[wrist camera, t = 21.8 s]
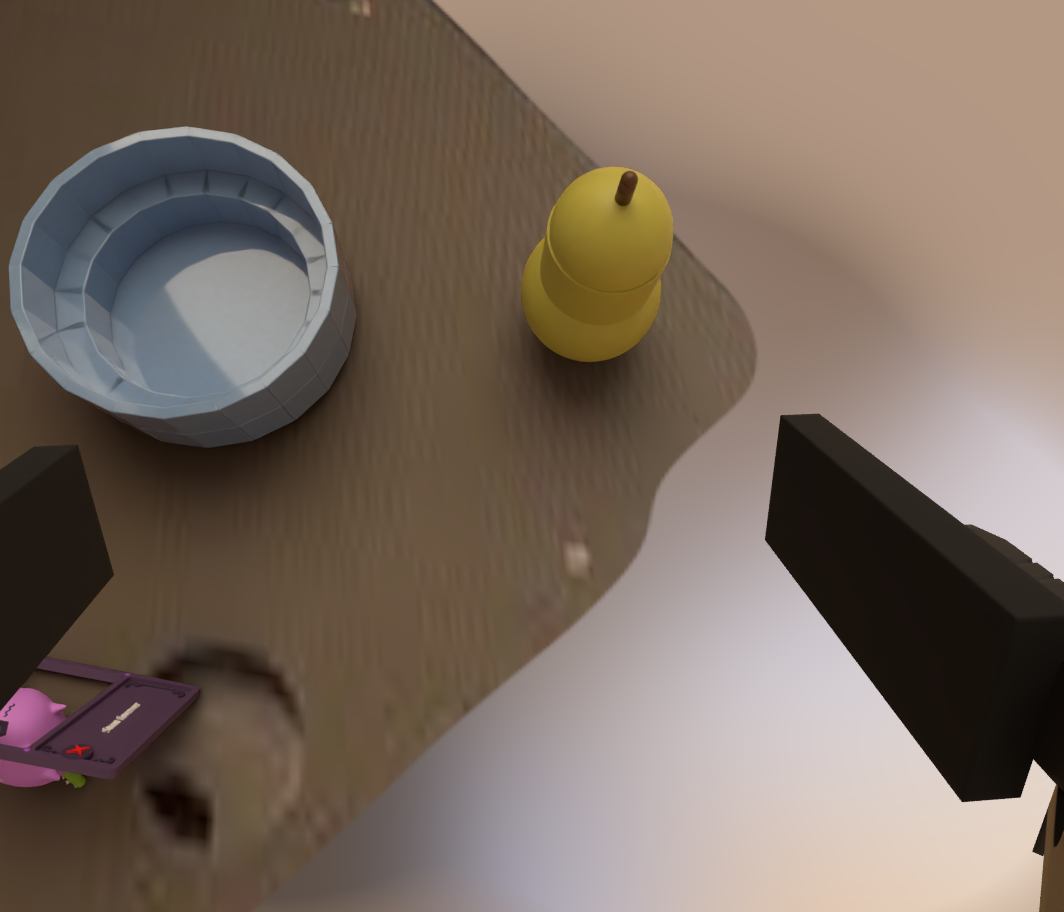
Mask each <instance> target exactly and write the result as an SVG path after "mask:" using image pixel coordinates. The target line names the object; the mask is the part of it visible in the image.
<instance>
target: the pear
mask: <svg viewBox="0 0 1064 912" xmlns="http://www.w3.org/2000/svg"><path fill="white" fill-rule="evenodd" d="M672 240H673V219H672V213H671V210H670V207H669V205H668V202H667V200H666V198H665V196H664V195H663V193H662V191H661V190H660V189H659V188H658V187H657V186H656V185H655V184H654V183H653V182H652V181H651V180H650V179H649V178H647V177H646V176H644V175H642V174H641V173H639V172H636V171H634V170H631V169H628V168H622V167H605V168H599V169H596V170H593V171H590V172H588V173H586V174H584V175H582V176H581V177H579V178H577V179H576V180H575V181H574V182H572V183H571V184H570V185H569V186H568V187H567V189H566V190H565V191H564V192H563V193H562V195H561V196H560V198H559V200H558V201H557V203H556V205H555V206H554V208H553V210H552V212H551V214H550V216H549V219H548V224H547V229H546V235H545V238H543V239H542V240H541V241H540V243H539V244H538V245H537V246H536V248H535V249H534V250H533V252H532V253H531V255H530V257H529V259H528V261H527V263H526V266H525V269H524V272H523V276H522V282H521V301H522V307H523V311H524V314H525V317H526V319H527V322H528V324H529V326H530V328H531V329H532V331H533V332H534V334H535V335H536V336H537V338H538V339H539V340H540V341H541V342H542V343H543V344H544V345H545V346H547V347H548V348H549V349H550V350H552V351H554V352H555V353H557V354H559V355H561V356H563V357H565V358H569V359H572V360H576V361H582V362H596V361H603V360H608V359H611V358H614V357H617V356H619V355H621V354H623V353H625V352H626V351H628V350H629V349H631V348H632V347H634V346H635V345H636V344H637V343H638V342H639V341H640V340H641V339H642V338H643V336H644V335H645V334H646V333H647V332H648V330H649V328H650V327H651V325H652V323H653V321H654V319H655V317H656V314H657V312H658V308H659V304H660V297H661V281H660V276H661V274H662V272H663V271H664V269H665V267H666V265H667V263H668V260H669V258H670V254H671V249H672Z"/></svg>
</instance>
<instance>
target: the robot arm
mask: <svg viewBox="0 0 1064 912" xmlns="http://www.w3.org/2000/svg"><path fill="white" fill-rule="evenodd" d="M765 540H766V542H767V543H768V545H769V546H770V547H771V548H772V550H773V551H774V552H775V554H776V555H777V557H778V558H779V559H780V561H781V562H782V563H783V564H784V566H785V567H786V569H787V570H788V571H789V573H790V574H791V575H792V577H793V578H794V579H795V580H796V582H797V583H798V584H799V586H800V587H801V588H802V590H803V591H804V592H805V594H806V595H807V596H808V597H809V599H810V600H811V602H812V603H813V604H814V606H815V607H816V608H817V610H818V611H819V612H820V614H821V615H822V616H823V618H824V619H825V620H826V622H827V623H828V624H829V626H830V627H831V628H832V629H833V631H834V632H835V634H836V635H837V636H838V638H839V639H840V640H841V642H842V643H843V644H844V646H845V647H846V648H847V650H848V651H849V652H850V653H851V655H852V656H853V658H854V659H855V660H856V662H857V663H858V664H859V666H860V667H861V668H862V670H863V671H864V672H865V674H866V675H867V676H868V678H869V679H870V680H871V682H872V683H873V684H874V686H875V687H876V688H877V690H878V691H879V692H880V694H881V695H882V696H883V697H884V699H885V700H886V702H887V703H888V704H889V706H890V707H891V708H892V710H893V711H894V712H895V713H896V715H897V716H898V718H899V719H900V720H901V721H902V723H903V724H904V725H905V727H906V728H907V729H908V731H909V732H910V733H911V735H912V736H913V737H914V739H915V740H916V741H917V743H918V744H919V745H920V747H921V748H922V749H923V751H924V752H925V753H926V755H927V756H928V757H929V759H930V760H931V761H932V762H933V764H934V765H935V767H936V768H937V769H938V771H939V772H940V773H941V775H942V776H943V777H944V779H945V780H946V781H947V783H948V784H949V785H950V787H951V788H952V789H953V791H954V792H955V793H956V795H957V796H958V797H959V799H960V800H961V801H962V802H970V801H982V800H994V799H1006V798H1020V797H1021V794H1022V791H1023V788H1024V785H1025V782H1026V779H1027V776H1028V773H1029V770H1030V767H1031V764H1032V761H1033V759H1034V760H1035V762H1036V763H1037V764H1038V765H1039V766H1040V767H1041V768H1042V769H1043V770H1044V771H1045V772H1046V773H1047V775H1048V776H1049V777H1050V778H1051V779H1052V780H1053V781H1054V782H1055V783H1056V787H1055V789H1054V792H1053V795H1052V798H1051V801H1050V803H1049V806H1048V809H1047V812H1046V815H1045V817H1044V820H1043V823H1042V826H1041V829H1040V831H1039V834H1038V837H1037V840H1036V843H1035V845H1034V848H1033V852H1035V853H1037V854H1039V855H1041V856H1043V855H1044V862H1043V874H1042V886H1041V897H1040V909H1039V912H1064V582H1062V581H1061V580H1060V579H1054V577H1053V574H1052V573H1050V572H1049V571H1048V570H1046V569H1045V568H1043V567H1042V566H1041V565H1039V564H1038V563H1032V559H1031V558H1030V557H1028V556H1027V555H1026V554H1024V553H1023V552H1022V551H1020V550H1019V549H1018V548H1016V547H1015V546H1014V545H1012V544H1011V543H1009V542H1008V541H1006V540H1005V539H1003V538H1000V537H998V536H996V535H994V534H991V533H989V532H987V531H985V530H983V529H980V528H978V527H976V526H974V525H964V524H962V523H961V522H960V521H959V520H957V519H956V518H955V517H953V516H952V515H951V514H949V513H948V512H947V511H946V510H944V509H943V508H941V507H940V506H939V505H938V504H936V503H935V502H934V501H932V500H931V499H930V498H929V497H927V496H926V495H925V494H923V493H922V492H921V491H919V490H918V489H917V488H915V487H914V486H913V485H911V484H910V483H909V482H908V481H906V480H905V479H904V478H902V477H901V476H900V475H898V474H897V473H896V472H894V471H893V470H892V469H891V468H889V467H888V466H887V465H885V464H884V463H883V462H881V461H880V460H879V459H877V458H876V457H875V456H874V455H872V454H871V453H870V452H868V451H867V450H866V449H864V448H863V447H862V446H860V445H859V444H858V443H857V442H855V441H854V440H853V439H851V438H850V437H848V436H847V435H846V434H845V433H843V432H842V431H841V430H839V429H838V428H837V427H836V426H834V425H833V424H832V423H830V422H829V421H828V420H826V419H825V418H824V417H822V416H821V415H820V414H802V415H781V416H780V424H779V433H778V440H777V448H776V456H775V464H774V472H773V480H772V489H771V496H770V504H769V512H768V520H767V528H766V536H765ZM113 575H114V573H113V570H112V566H111V563H110V559H109V555H108V552H107V548H106V545H105V541H104V538H103V534H102V530H101V527H100V523H99V520H98V516H97V513H96V509H95V505H94V502H93V498H92V495H91V491H90V487H89V484H88V480H87V477H86V473H85V470H84V466H83V462H82V459H81V455H80V452H79V448H78V445H66V446H42V447H33V448H31V449H30V450H28V451H27V452H26V453H24V454H23V455H21V456H20V457H18V458H17V459H15V460H14V461H12V462H11V463H10V464H8V465H7V466H5V467H4V468H2V469H1V470H0V711H1V710H2V709H3V708H4V706H5V705H6V704H7V703H8V702H9V700H10V699H11V698H12V697H13V696H14V694H15V693H16V692H17V691H18V690H19V688H20V687H21V686H22V685H23V684H24V682H25V681H26V680H27V679H28V678H29V676H30V675H31V674H32V673H33V672H34V670H35V669H36V668H37V667H38V666H39V664H40V663H41V662H42V661H43V660H44V658H45V657H46V656H47V655H48V654H49V652H50V651H51V650H52V649H53V647H54V646H55V645H56V644H57V643H58V641H59V640H60V639H61V638H62V637H63V635H64V634H65V633H66V632H67V631H68V629H69V628H70V627H71V626H72V625H73V623H74V622H75V621H76V620H77V619H78V617H79V616H80V615H81V614H82V613H83V611H84V610H85V609H86V608H87V607H88V605H89V604H90V603H91V602H92V601H93V599H94V598H95V597H96V596H97V595H98V593H99V592H100V591H101V590H102V589H103V587H104V586H105V585H106V584H107V583H108V581H109V580H110V579H111V578H112V577H113Z"/></svg>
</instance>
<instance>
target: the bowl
mask: <svg viewBox="0 0 1064 912" xmlns="http://www.w3.org/2000/svg"><path fill="white" fill-rule="evenodd" d="M9 284H10V307H11V313H12V315H13V318H14V320H15V322H16V324H17V327H18V329H19V331H20V334H21V336H22V338H23V340H24V343H25V345H26V347H27V349H28V352H29V354H30V355H31V357H32V358H33V359H34V360H35V361H36V362H37V363H38V364H39V365H40V366H41V367H42V368H43V369H44V370H45V371H46V372H47V373H48V374H49V375H50V376H51V377H52V378H53V379H54V380H55V381H56V382H57V383H58V384H59V385H60V386H61V387H62V388H63V389H65V390H66V391H68V392H69V393H71V394H73V395H75V396H76V397H78V398H80V399H82V400H83V401H85V402H87V403H89V404H90V405H92V406H94V407H96V408H98V409H99V410H101V411H103V412H105V413H106V414H108V415H110V416H112V417H113V418H115V419H117V420H119V421H120V422H122V423H124V424H126V425H128V426H130V427H132V428H134V429H136V430H139V431H141V432H143V433H145V434H147V435H149V436H151V437H153V438H155V439H157V440H159V441H163V442H168V443H175V444H182V445H190V446H197V447H204V448H206V447H208V448H211V447H217V446H224V445H230V444H236V443H242V442H249V441H253V440H256V439H258V438H260V437H262V436H264V435H266V434H268V433H270V432H272V431H274V430H276V429H279V428H281V427H283V426H285V425H287V424H289V423H291V422H293V421H294V420H296V419H297V418H299V417H300V416H301V415H302V414H303V413H304V412H305V411H306V410H307V409H308V408H309V407H311V406H312V405H313V404H314V403H315V402H316V401H317V400H318V399H319V398H320V397H321V396H323V395H324V394H325V393H326V392H327V390H329V388H330V387H331V385H332V383H333V381H334V380H335V378H336V376H337V374H338V373H339V371H340V369H341V367H342V366H343V364H344V362H345V360H346V359H347V357H348V355H349V352H350V347H351V342H352V337H353V331H354V326H355V321H356V316H357V315H356V314H357V311H356V304H355V297H354V291H353V284H352V277H351V274H350V271H349V268H348V266H347V263H346V260H345V257H344V254H343V252H342V249H341V246H340V243H339V240H338V237H337V235H336V232H335V229H334V226H333V223H332V221H331V219H330V217H329V216H328V214H327V212H326V210H325V208H324V206H323V204H322V203H321V201H320V199H319V197H318V195H317V193H316V191H315V190H314V188H313V186H312V185H311V183H310V182H308V181H307V180H306V179H305V178H304V177H303V176H302V175H301V174H300V173H299V172H298V171H296V170H295V169H294V168H293V167H292V166H291V165H290V164H289V163H288V162H287V161H286V160H285V159H283V158H282V157H281V156H280V155H279V154H277V153H275V152H273V151H271V150H269V149H267V148H265V147H263V146H261V145H258V144H256V143H254V142H252V141H250V140H248V139H246V138H244V137H241V136H239V135H237V134H233V133H227V132H220V131H214V130H208V129H201V128H195V127H187V126H186V127H177V128H168V129H159V130H150V131H141V132H139V133H138V132H137V133H135V134H132V135H129V136H127V137H124V138H122V139H119V140H117V141H114V142H112V143H109V144H106V145H104V146H101V147H99V148H96V149H94V150H93V151H90V152H89V153H87V154H86V155H85V156H83V157H82V158H81V159H79V160H78V161H77V162H75V163H74V164H73V165H71V166H70V167H69V168H67V169H66V170H65V171H63V172H62V173H61V174H59V175H58V176H57V177H55V178H54V179H53V181H51V182H50V184H49V185H48V186H47V188H46V189H45V190H44V192H43V193H42V194H41V196H40V197H39V198H38V200H37V201H36V203H35V204H34V205H33V207H32V208H31V209H30V211H29V212H28V213H27V215H26V216H25V218H24V220H23V221H22V224H21V228H20V231H19V234H18V237H17V240H16V243H15V246H14V249H13V252H12V256H11V259H10V262H9Z"/></svg>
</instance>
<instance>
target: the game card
mask: <svg viewBox="0 0 1064 912" xmlns="http://www.w3.org/2000/svg"><path fill="white" fill-rule="evenodd" d="M37 668H38V669H43V670H49V671H54V672H59V673H64V674H70V675H75V676H80V677H85V678H90V679H96V680H101V681H106V682H111V683H114V684H112V685H111V686H109V687H108V688H107V689H105V690H104V691H103V692H101V693H100V694H99V695H97V696H96V697H95V698H93V699H92V700H91V701H89V702H88V703H87V704H85V705H84V706H83V707H81V708H80V709H79V710H77V711H76V712H75V713H73V714H72V715H71V716H69V717H68V718H66V717H65V716H64V715H63V713H62V712H61V711H60V710H62V709H64V708H66V705H63V704H57V703H53V702H52V700H51V699H50V698H49V697H47V696H46V695H45V694H43V693H42V692H40V691H38V690H35V689H31V688H21V687H20V688H19V690H18V691H17V692H16V693H15V694H14V696H13V697H12V698H11V699H10V700H9V702H8V703H7V704H6V705H5V706H4V708H3V709H2V710H1V711H0V782H1V783H4V784H7V785H11V786H17V787H35V786H41V785H44V784H47V783H50V782H52V781H54V780H56V781H58V780H60V777H61V776H62V777H63V779H64V778H66V779H68V780H66V781H65V782H67V783H66V785H67V784H68V783H72V784H73V785H74V786H75V788H76V787H82V786H83V785H84V784H85V782H86V779H85V777H84V776H82V775H87V776H92V777H97V778H103V779H114V778H116V777H117V776H118V775H119V774H120V773H121V772H122V771H123V770H124V769H125V768H126V767H127V766H128V765H130V764H131V763H132V762H133V761H134V760H135V759H136V758H137V757H138V756H139V755H140V754H141V753H142V752H143V751H144V750H145V749H146V748H147V747H148V746H149V745H150V744H151V743H152V742H153V741H154V740H155V739H156V738H157V737H158V736H159V735H160V734H161V733H162V732H163V731H164V730H165V729H166V728H167V727H168V726H169V725H170V724H171V723H172V722H173V721H174V720H175V719H176V718H178V717H179V716H180V715H181V714H182V713H183V712H184V711H185V710H186V709H187V708H188V707H189V706H190V705H191V704H192V703H193V702H194V701H195V700H196V699H197V698H198V697H199V691H200V687H198V686H195V685H189V684H184V683H179V682H174V681H169V680H163V679H158V678H153V677H148V676H143V675H137V674H132V673H127V672H122V671H117V670H111V669H106V668H101V667H96V666H90V665H85V664H80V663H75V662H70V661H64V660H59V659H54V658H49V657H45V658H44V660H43V661H42V662H41V663H40V664H39V666H38V667H37Z"/></svg>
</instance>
